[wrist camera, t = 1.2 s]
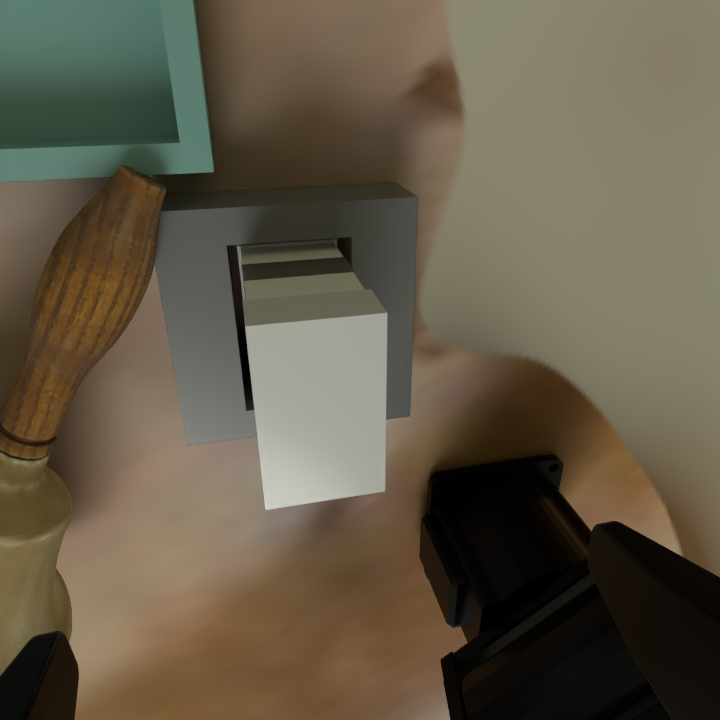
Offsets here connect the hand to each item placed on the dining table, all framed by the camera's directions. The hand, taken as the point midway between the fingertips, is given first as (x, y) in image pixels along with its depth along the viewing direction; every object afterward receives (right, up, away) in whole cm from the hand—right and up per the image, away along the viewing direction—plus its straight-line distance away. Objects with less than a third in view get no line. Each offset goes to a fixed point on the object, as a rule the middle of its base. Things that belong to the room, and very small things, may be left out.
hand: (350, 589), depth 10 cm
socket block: (-2, +6, +11) cm, 13 cm away
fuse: (-2, +6, +11) cm, 13 cm away
